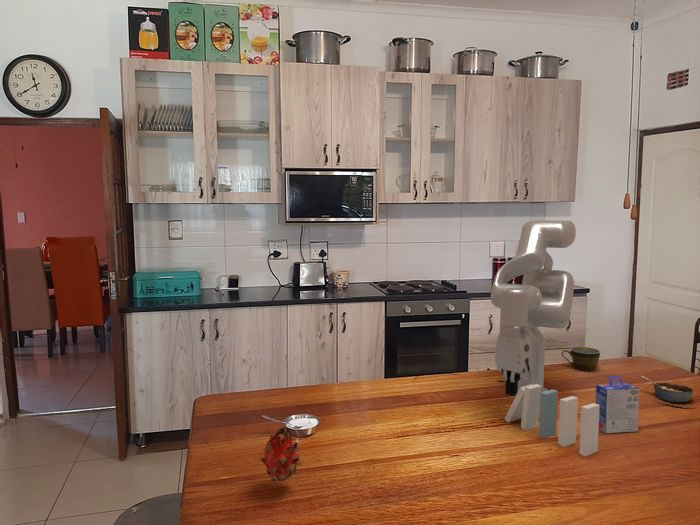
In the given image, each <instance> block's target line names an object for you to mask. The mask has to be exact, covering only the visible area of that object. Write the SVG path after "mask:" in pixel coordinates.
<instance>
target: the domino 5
mask: <svg viewBox="0 0 700 525" xmlns="http://www.w3.org/2000/svg"><path fill="white" fill-rule="evenodd" d="M580 408H581V409H580V410H581V411H580V430H579V431H580V432H579V433H580V434H579V437H580V438H579V453H578V454H579V455H581V456H583V457H588V456H590V455H593V454H595V453H598V449H599V448H598V446H599V430H600V429H599V409H600V405H598V404H596V402H595V403H594V402H593V403H589V404H586V405H583V406H581V407H580Z"/></svg>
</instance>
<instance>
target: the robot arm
mask: <svg viewBox="0 0 700 525" xmlns="http://www.w3.org/2000/svg"><path fill="white" fill-rule="evenodd" d="M576 231H577V230H576V226H575V224H574V222H573V221H572V220H551V219H550V220H548V219H547V220H544V219H543V220H531V221H526V222H525V223H524V224H523V226H522V228H521V233H520V237H519V241H518V245H517V250H516V254H515V256H514V257H512V258H510V259H509V260H508V261H506V262H505V263H504V264H503V265H502V266H501V267H500V268H499V269H498V270H497V271H496V274H495V275H494V278H493V279H494V280H493V283H492V285H491V292H490V302H491V304H492V305H493V306H494V307H496V308H498V309H500V310H499V312H500V315H499V334H498V335H497V339H496V344H495V353H494V354H495V355H494V361H495V366H496V369H497V371H499V372H501V374H502V375H503V379H504V380H505V395H508V396H510V397H511V396H516V395H517V393H518V391H519V389H520V387H523V386H528V385H535V384H538V385H541V386H542V388H541V392H545V391H549V389H548V388H546V387H544V385H545V384H544V381H545V380H544V379H545V378H544V377H545V355H546V354H545V348H546V340H545V337H544V335H543V333H542V331H541V330H540V329H539V328H548V329H549V328H550V329H558V330H560V329H565V328H567V327H568V325H569V324H570V320H571V313H572V305H573V298H574V291H575V290H574V289H575V281H574V277H573V275H572V274H571V273H570V272H569V271H566V270H560V269H558V270H556V269H553V267H554V261H553V257H552V256H551V254H550V253H549V252H548V251H547V248H551V249H560V248H561V249H565V248H569V247H570V246H571V245H572V244H573V243H574V242H575V240H576V234H577V232H576ZM520 276H523V277H522V282H521V284H518V283H509V282H510V281H511V280H513V279H515V278H518V277H520Z"/></svg>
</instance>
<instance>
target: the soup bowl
mask: <svg viewBox="0 0 700 525" xmlns="http://www.w3.org/2000/svg"><path fill="white" fill-rule="evenodd" d="M640 377H642V378H643V379H646V380H648V382H651V383H652V385H653V388H654V392H655V395H656V397H657V398H658V399H660V400H663V401H665V402H668V403H673V404H674V405H675V404H680V403H683V402H684V403H688V402H689V401H690V400H691V397H693V394H694V393H693V392H694V390H693V388H692V387H689V386H686V385H684V384H677V383H671V382H654V381H652V380H650V379H649V378H647V377H645V376H644V375H640ZM651 401H652V402H654V403H658V404H659V402H658V401H657V400H656V401H655V400H652V399H651ZM660 404H661V405H664V406H668V405H669V407H675V408H680V407H681V408H682V409H689V408H688V407H689V406H688V407H687V406H682V405H675V406H674V405H673V404H666V403H662V402H660ZM696 408H697V406H696V407H694V409H696Z"/></svg>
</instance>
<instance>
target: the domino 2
mask: <svg viewBox="0 0 700 525" xmlns="http://www.w3.org/2000/svg"><path fill="white" fill-rule="evenodd" d="M541 388H542V386H541V385H538V384H535V385H531V386H527V387H525V390H524V400H523V410H522V417H521V422H520V429H522V430H523V431H529V430H531V429H534V428H537V427H539V426H538V425H539V418H540V394H541Z"/></svg>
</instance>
